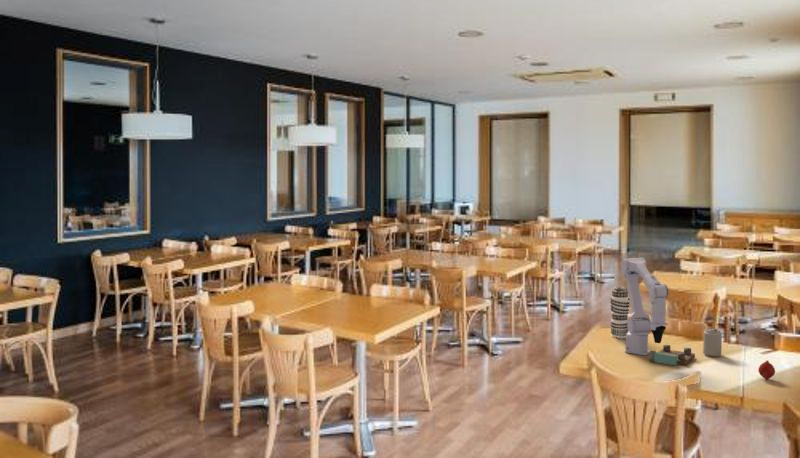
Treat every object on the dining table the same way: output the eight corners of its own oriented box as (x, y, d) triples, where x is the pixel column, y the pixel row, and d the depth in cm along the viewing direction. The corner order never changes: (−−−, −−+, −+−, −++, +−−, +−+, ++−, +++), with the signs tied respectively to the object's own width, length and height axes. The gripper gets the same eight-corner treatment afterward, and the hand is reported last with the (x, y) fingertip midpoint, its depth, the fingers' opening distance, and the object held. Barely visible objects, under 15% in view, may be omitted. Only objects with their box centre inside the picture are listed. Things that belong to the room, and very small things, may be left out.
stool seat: (652, 360, 296) (652, 350, 295) (662, 353, 306) (663, 343, 306) (685, 366, 287) (685, 355, 286) (694, 358, 298) (695, 348, 297)
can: (723, 357, 297) (723, 331, 296) (705, 357, 299) (705, 331, 297) (718, 352, 304) (719, 327, 303) (701, 352, 306) (701, 326, 305)
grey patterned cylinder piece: (613, 332, 344) (613, 284, 341) (631, 334, 338) (632, 286, 336) (607, 336, 336) (607, 288, 334) (626, 339, 331) (626, 289, 328)
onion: (755, 377, 270) (755, 358, 269) (768, 376, 271) (769, 357, 270) (764, 382, 264) (764, 362, 263) (777, 381, 265) (778, 362, 264)
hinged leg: (649, 361, 294) (649, 351, 293) (650, 360, 296) (651, 350, 295) (675, 365, 287) (675, 355, 286) (677, 364, 289) (677, 354, 288)
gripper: (662, 316, 281) (661, 348, 282) (672, 310, 292) (672, 340, 293) (645, 314, 285) (645, 345, 287) (656, 308, 296) (656, 337, 298)
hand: (657, 342), depth 290 cm, fingers closed
